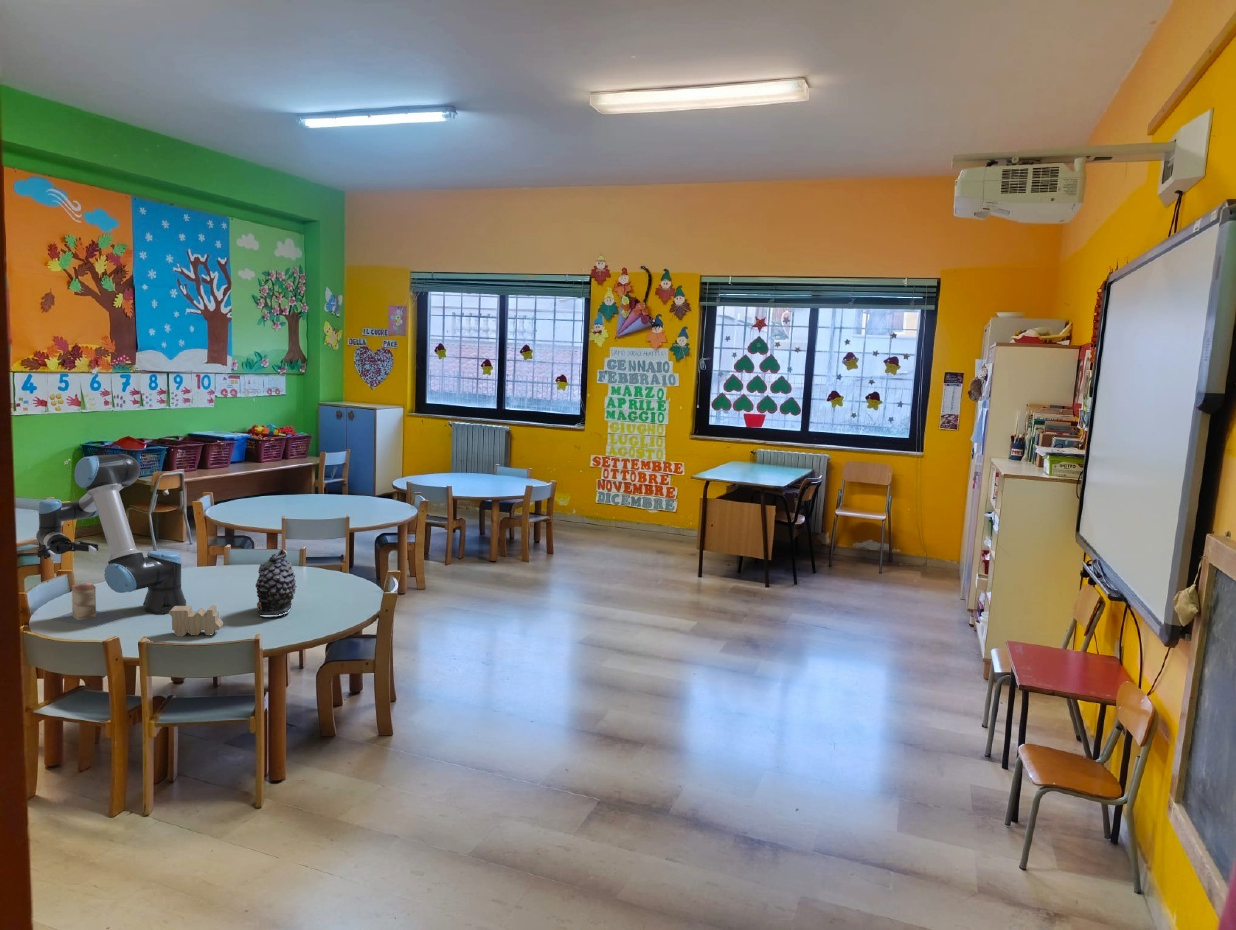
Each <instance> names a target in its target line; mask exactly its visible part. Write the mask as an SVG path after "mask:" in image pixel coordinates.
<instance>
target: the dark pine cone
mask: <svg viewBox="0 0 1236 930" xmlns="http://www.w3.org/2000/svg"><path fill="white" fill-rule="evenodd" d="M287 556H288V552H287V551H286V550H285V549H284V548H282V549H280V550H279V551H278V552H276V553H274V554H272V555H271V557H269V559H268V560H267V561H265V562H264V563H260V565H259V568H258V571H257V573H258V575H259V576H258V577H257V578H258V579H257V580H256V583H255V588H256V594H257V595H256V596H257V597H258V602H257V603H256V608H258V609H257V614H258V613H259V614H260V615H279V614H283V613H285V612H288V610H289V609H290V608H291V605H292V600H294V595H295V594H296V588H297V585H296V579H295V577H296V574H295V573H294V569H293V566H292V562H291V561H290V562H289V560H288V558H287ZM291 609H292V608H291ZM259 614H258V615H259Z"/></svg>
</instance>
